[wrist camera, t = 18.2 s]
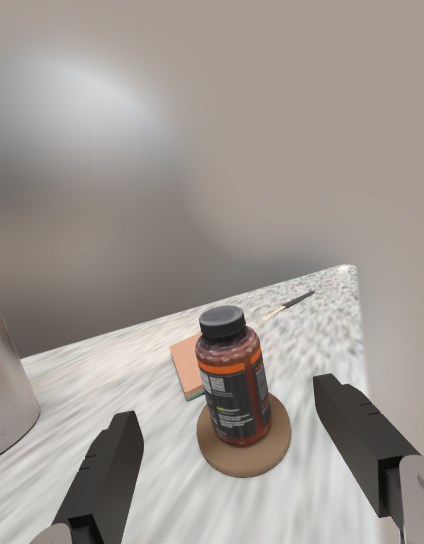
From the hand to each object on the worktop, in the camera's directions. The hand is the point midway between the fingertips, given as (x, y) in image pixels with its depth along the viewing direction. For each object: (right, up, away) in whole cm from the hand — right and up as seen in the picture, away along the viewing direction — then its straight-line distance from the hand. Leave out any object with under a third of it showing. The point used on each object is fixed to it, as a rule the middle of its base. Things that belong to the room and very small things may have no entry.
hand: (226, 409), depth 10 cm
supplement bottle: (+2, -9, +12) cm, 15 cm away
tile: (0, -8, +18) cm, 19 cm away
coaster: (+2, -9, +12) cm, 16 cm away
